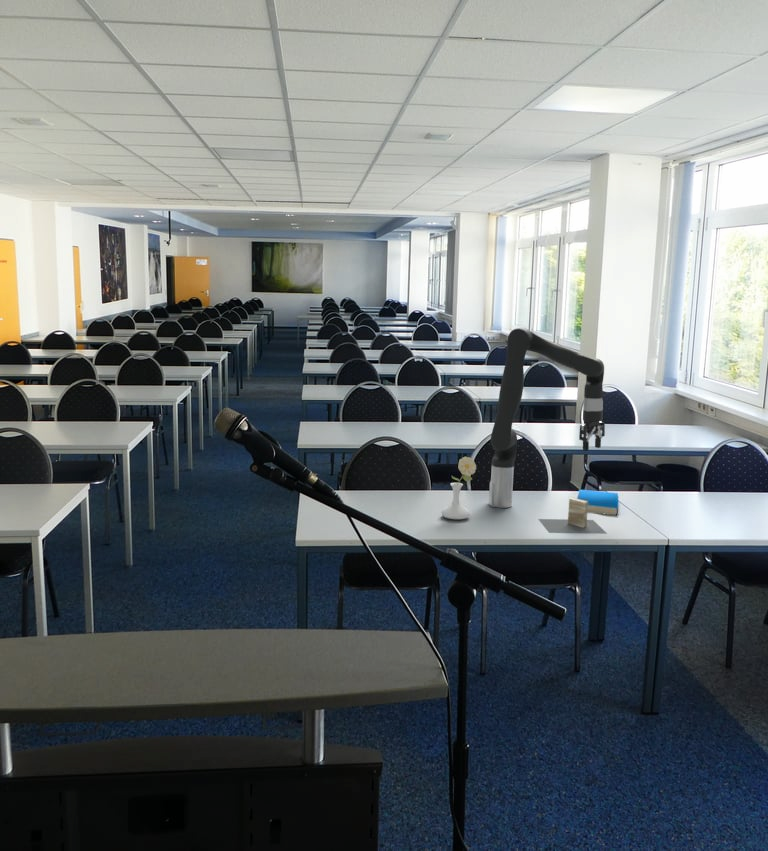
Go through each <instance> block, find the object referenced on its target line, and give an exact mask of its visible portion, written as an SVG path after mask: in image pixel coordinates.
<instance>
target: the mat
mask: <svg viewBox="0 0 768 851" xmlns="http://www.w3.org/2000/svg"><path fill="white" fill-rule="evenodd" d="M538 521H539V522H540V523H541V524H542V526H543V527H544V528H545V530H546V531H547V532H548V533H550V534H600V535H601V534H605V535H606V534H608V532H606V531H605V530H604V529H603V528H602V527H601V525H599V524H598V523H597V522H596V521H595V520H594V519H587V527H584V528H582V527H579V526H575V525H572V524H568V518H565V519H563V518H562V519H561V518H560V519H559V518H558V519H557V518H538Z"/></svg>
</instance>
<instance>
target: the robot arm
mask: <svg viewBox="0 0 768 851" xmlns="http://www.w3.org/2000/svg"><path fill="white" fill-rule="evenodd" d="M506 342H507V343H506V358H505V365H504V368H503V373H502V378H501V383H500V388H499V393H498V395H499V396H498V402H497V408H496V415H495V420H494V424H493V427H492V431H491V435H490V444H491V446H492V448H493V449H494V450H495V451H494V455H493V456H492V459H491V470H490V471H491V473H490V474H491V476H490V481H489V488H488V489H489V491H488V493H489V494H488V504H489V506H490V507H492V508H494V507H495V508H499V509H501V508H502V509H504V508H505V509H507V508H511V507H512V505H513V504H512V503H513V486H514V469H515V461H516V457H517V448H518V435H517V433H516V431H515V430H514V428H512V427H513V422H514V418H515V416H516V414H517V411H518V408H519V407H520V404H521V402H522V401H521V400H522V397H523V391H524V384H525V374H524V364H525V359H526V353H527V351H529V352H533V353H537V354H539V355H542V356H544V357H546V358H547V359H549V360H551V361H553V362H555V363H557V364H559V365H561V366H564V367H566V368H570V369H573V370H576V372H578V373H580V374H582V375H585V376H586V378H585V380H586V382H585V385H584V389H583V390H584V394H583V403H582V404H583V406H582V407H583V409H582V420H583V421H584V422H585V423H584V424H580V425H579V434H578V435H579V439H578V440H580V441H582V450H583V451H585V452H587V451H589V450H590V449H589V448H590V446H589V445H590V441H589V440H590V439H591V438H592V436H593V435H594V437H595V438H594V439H595V440H594V447H595V448H597V449H600V448H601V446H602V439H603V437H605V435H606V434H605V433H606V432H605V429H606V426H605V424H606V422H605V421H603V415H604V414H603V413H604V412H603V411H604V408H603V407H604V402H603V391H604V390H603V383H604V382H603V381H604V375H605V364H604V362H603V361H602V360H601V359H599V358H597V357H596V358H591V357H588V356H585V355H583V354H582V353H581V352H579V351H575V350H573V349H572V348H570V347H566V346H563V345H562V344H561V345H560V344H558V343H554V342H552V341H550V340H548V339H545V338H544V337H541V336H539V335H538V334H536V333H534V332H532V331H531V330H530V329H528V328H526V327H517V328H514V329H512V330H511V331H510V332H509V334H508V337H507V341H506Z"/></svg>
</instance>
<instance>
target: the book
mask: <svg viewBox="0 0 768 851" xmlns="http://www.w3.org/2000/svg"><path fill="white" fill-rule="evenodd" d="M576 499H580V500H584V501H588V513H590V512H594V513H593V514H599V513H605V514H604V515H609V514H614V515H613V516H617V515H618V513H619V493H618V492H609V491H601V490H600V491H599V490H588V489H587V490H586V489H579V490H578V495H577V497H576ZM616 514H617V515H616Z"/></svg>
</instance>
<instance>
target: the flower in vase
mask: <svg viewBox="0 0 768 851" xmlns="http://www.w3.org/2000/svg"><path fill="white" fill-rule="evenodd" d="M457 464H458V467H457V468H458V470H459V472H460V473H461V477H460V479H459V478H457V477H455V476H453V475H451V479H453V480H455V481H457V482H451V483H450V486H451V488H452V491H453V492H452V494H453V498H452V502H451V503H449V504H448V505H447V506H446V507H444V508H443V509H442V510H441V512H440V513H441V516H442V517H445V518H446V519H449V520H465V519H468V518H469V517H470V515H471V513H470V511H469V510H468V509H467V508H466V507H465V506H463V504H461V503H460V492H461V489H462V487H463V486H464V484H463V483H461V480H462V479H463V480H464V481H465V482H469V481H472V480H473V478H472V477H471V476H472V475H474V474H475V473H476V470H477V464H476V463H475V461H474V459H473V458H471V457H470V456H468V457H467V456H464V457H461V458H460V459H459V461H458V463H457Z"/></svg>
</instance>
